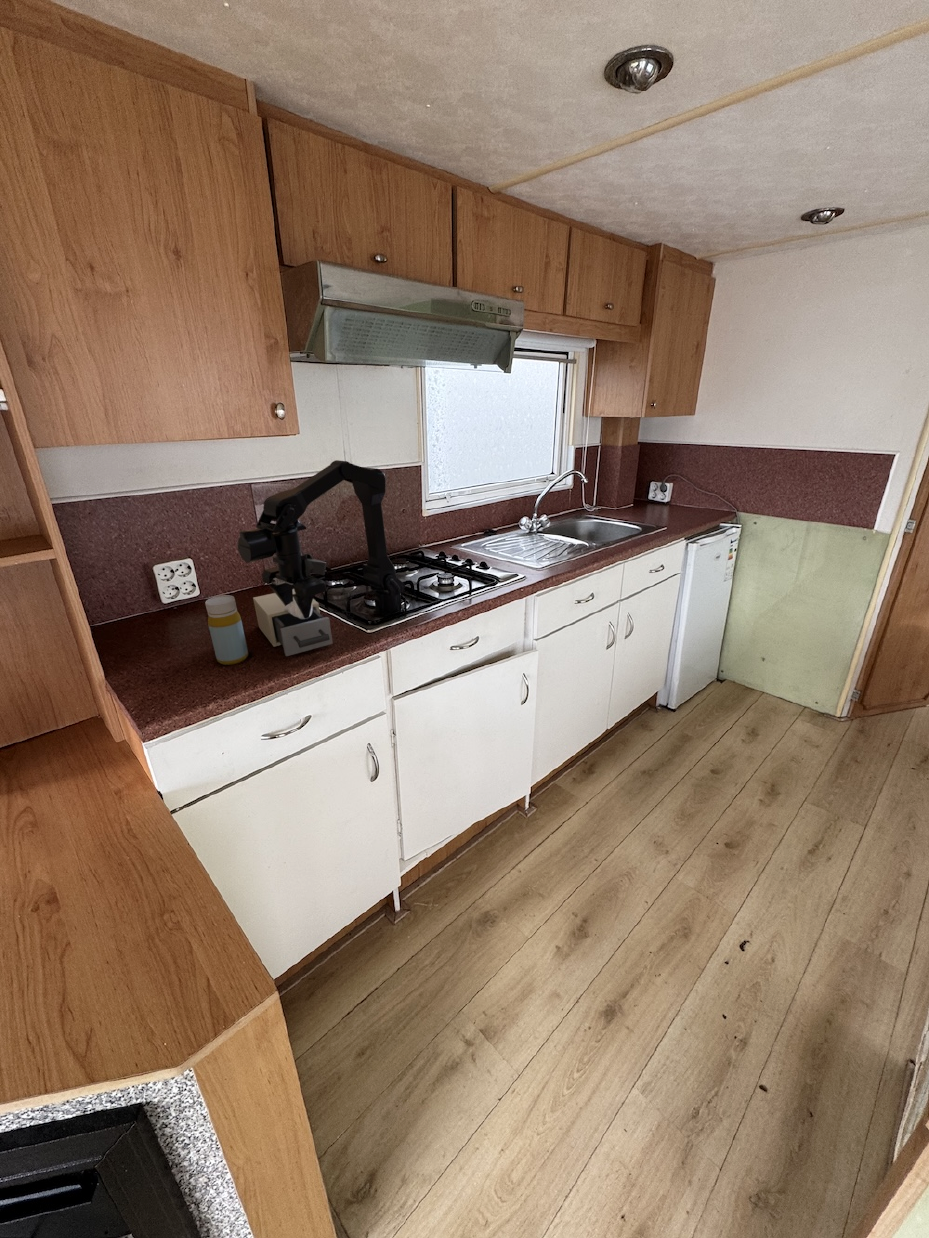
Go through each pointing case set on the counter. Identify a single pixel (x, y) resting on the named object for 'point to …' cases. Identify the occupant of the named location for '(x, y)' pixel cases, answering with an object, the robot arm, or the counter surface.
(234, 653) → the bottle
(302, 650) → the grey drawer with handle
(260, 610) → the small drawer cabinet
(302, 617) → the garlic bulb
